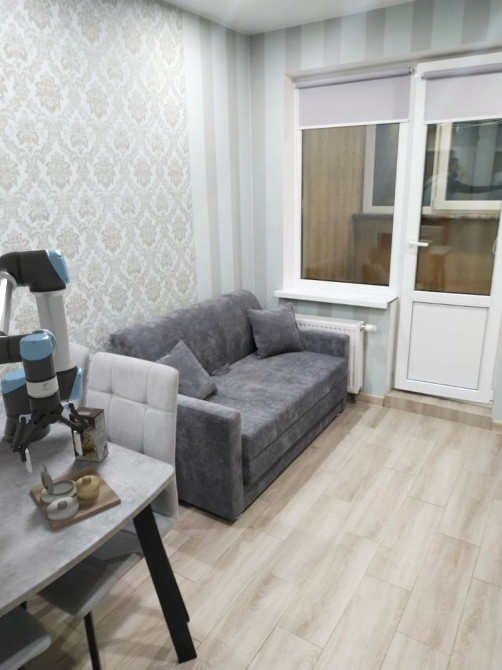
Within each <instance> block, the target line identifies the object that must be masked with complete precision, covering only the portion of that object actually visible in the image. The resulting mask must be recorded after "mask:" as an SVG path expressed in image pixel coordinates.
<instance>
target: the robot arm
mask: <svg viewBox="0 0 502 670" xmlns="http://www.w3.org/2000/svg"><path fill="white" fill-rule="evenodd" d="M69 274H70V273H69V271H68V267H67V263H66V259H65V257H64V254H63V253H62V252H61V251H60V250H59V249H36V250H26V251H24V250H23V251H10V252H6V253H5V254H1V256H0V365H6V364H7V365H8V364H16V363H22V367H23V368H20V369H17V370H13V371H12V372H9V373H8V374H6V375H4V376H3V377H2V379H1V380H0V389H1V390H0V391H1V392H0V393H1V395H2V401H3V406H4V410H5V414H6V415H5V416H6V420H5V424H4V429H3V434H4V435H3V436H4V440H5V441H6V442H8V443H11V444H10V446H9V447H10V449H11V451H12V454H13V453H14V454H16V453H19V457H20V458H19V459H20V460H21V462H22V463H25V466H26V470H27V471H28V472H29V474H31V473H33V468H32V461H31V456H30V452H29V449H28V447H29V446H30V444H31V442H35V441H37V440H39V439H41V438H43V437H45V436H47V435H48V434H49V433H50V431H51V425H53V424H56V423H57V422H58V421H59V422H60V423H63V424H65V425H66V426H68V427H69V428H70V429H71V428H72V429H74V430H76V431H74V437H75V444H76V450H77V452H78V454H79V455H82V447H81V443H82V442H84V437H83V433H84V430H85V429H88V428H89V425H88V424H87V423H86V422H85V421H84V420H83V418H82V417H81V416H80V415H79V414H78V412H77V411H76V409H75V404H74V403H73V401H76V400H80V398H82V393H83V391H82V390H83V389H82V388H83V387H82V385H83V380H82V378H83V372H82V371H83V369H82V367H80V366H78V365H77V362H76V361H75V360H73V359H72V353H71V346H70V345H71V344H70V338H69V331H68V325H67V324H68V323H67V318H66V317H67V316H66V311H65V305H64V304H65V303H64V296H63V293H64V292H65V291H66V290H67V285H68V284H70V282H71V281H70V280H71V279H70V275H69ZM23 287H24V288H25V287H27V288H28V289H29V290H28V291H29V293H30V294H32V295H33V297H35V301H36V309H37V315H38V320H39V321H38V323H39V326H40V327H39V328H38V329H35V330H34V331H31V333H24V334H16V335H14V334H13V335H9V330H10V321H11V311H12V301H13V294H14V293H15V291H16V290H17V288H23ZM64 410H66V411H67V412H69V413H72V414H73V415H74V416H75V418H76V419H77V420H78V421H79V422H80V423H81V425H80V426H78V425H77V424H75V423H73V422H72V421H70V419H68V418H67V417H66V416H64V415H62V414H63V412H64Z"/></svg>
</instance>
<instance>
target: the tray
mask: <svg viewBox="0 0 502 670" xmlns="http://www.w3.org/2000/svg"><path fill="white" fill-rule="evenodd" d="M52 480H53V484H54V483H55V482H57V481H60V480H71V481H73V483H74V487H73V489H72V490H71V491H69V492H68V493H65V494H62V495H52V494H49V493H47V492H46V490H45V488H44V486H43V484H42V483H40V484H37V485H35V486H32V487H30V493H31V494H32V495H33V498H34V499H35V500H36V502H37V504H38V505H39V508H40V509H41V510H42V512H43V514H44V515H45V517H46V519H47V520H48V522H49V525H50V526H51V527H52V529H53V530H54V531H56V530H57V531H58V530H59V529H61V528H65V526H68V525H70V524H74V523H75V522H77V521H80V520H82V519H85V518H87V517H89V516H92V515H94V514H95V513H99V512H101V511H103V510H106V509H108V508H110V507H113V506H115V505H118V504H119V503H121V502H122V500H121V498H120V496H119V495H118V494H117V493H116V492H115V490H113V488H112V487H111V486H110V485H109V484H108V483H107V482H106V480H105V479H104V478H103V477H102V476H101V475H100V474H99V473H98V471H97V470H96V469H94V467H93V466H92V465H89V466H86V467H83V468H81V469H78V470H75V471H73V472H69V473H68V474H64V475H62V476H60V477H56V478H54V479H52Z"/></svg>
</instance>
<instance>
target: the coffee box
mask: <svg viewBox="0 0 502 670" xmlns="http://www.w3.org/2000/svg"><path fill="white" fill-rule="evenodd" d="M75 410H76V411H77V412H78V414H79V415H80V416H81V417H82V418H83V420H84V421H85V422H86V423H87V424H88V425H89V428H88V429H85V430H84V433H83V437H84V442H82V443H81V447H82V455H79V454H78V452H77V450H76V444H75V437H74V431H76V430H74V429H72V428H71V427H70V430H71V431H70V432H71V438H72V444H73V445H72V446H73V451H74V453H73V454H74V459H75V460H80V461H87V462H88V461H89V462H95V463H100V462H101V461H102V460H103V459H104V458H105V457H106V456H107V455H108V454H110V452H109V443H108V433H107V426H106V425H107V424H106V415H105V408H97V407H88V406H87V407H85V406H78V407H77V408H76V409H75ZM68 418H69V420H70V421H72V422H73V423H75V424H77V425H78V426H80V425H81V423H80V422H79V421H78V420H77V419H76V418H75V416H74V415H73V414H72V413H71V412H69V414H68Z"/></svg>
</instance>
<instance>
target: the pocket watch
mask: <svg viewBox="0 0 502 670" xmlns="http://www.w3.org/2000/svg"><path fill="white" fill-rule="evenodd" d="M41 465H42V467H43V470H42V471H41V472H40V479H41V480H40V481H41V484H43V486H44V488H45V490H46V492H47V493H49V494H52V495H62V494H65V493H68V492H69V491H71V490H72V489H73V487H74V483H73V481H71V480H60V481H57V482H55V483H54V484H53V480H54V479H53V478H52V476H51V474H50V472H49V471H48V467H47V466H46V465H45V464H44V463H41Z"/></svg>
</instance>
